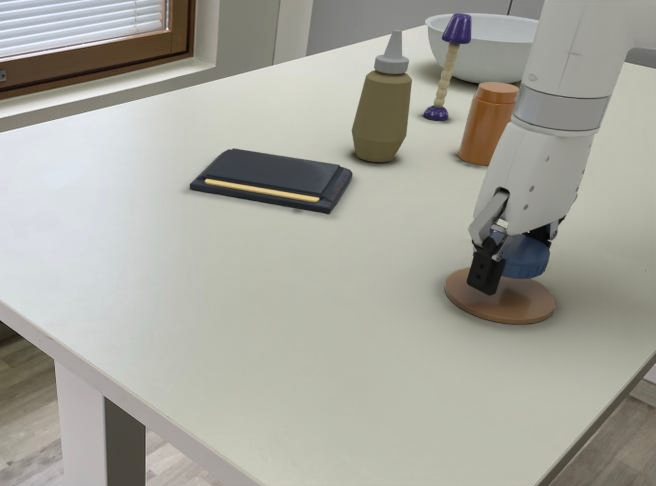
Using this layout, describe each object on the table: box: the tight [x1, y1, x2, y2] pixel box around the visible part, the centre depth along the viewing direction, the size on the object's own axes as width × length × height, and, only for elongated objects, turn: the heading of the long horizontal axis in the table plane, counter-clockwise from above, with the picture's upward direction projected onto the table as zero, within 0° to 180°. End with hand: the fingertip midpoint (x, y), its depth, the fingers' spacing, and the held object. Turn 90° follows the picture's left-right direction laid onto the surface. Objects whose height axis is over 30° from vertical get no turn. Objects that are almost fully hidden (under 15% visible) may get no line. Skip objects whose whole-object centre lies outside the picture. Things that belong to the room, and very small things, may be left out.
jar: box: [457, 82, 520, 166], centre depth 108 cm, size 6×6×11 cm
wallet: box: [189, 147, 353, 214], centre depth 101 cm, size 20×2×15 cm
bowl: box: [424, 12, 539, 84], centre depth 146 cm, size 27×27×10 cm
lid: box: [472, 230, 551, 279], centre depth 74 cm, size 7×7×2 cm
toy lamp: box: [423, 12, 472, 121], centre depth 122 cm, size 5×5×17 cm
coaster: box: [444, 267, 556, 325], centre depth 77 cm, size 11×11×1 cm
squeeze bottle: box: [351, 29, 413, 163], centre depth 105 cm, size 8×8×18 cm
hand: (503, 278), depth 76 cm, fingers closed on lid, 6 cm apart
